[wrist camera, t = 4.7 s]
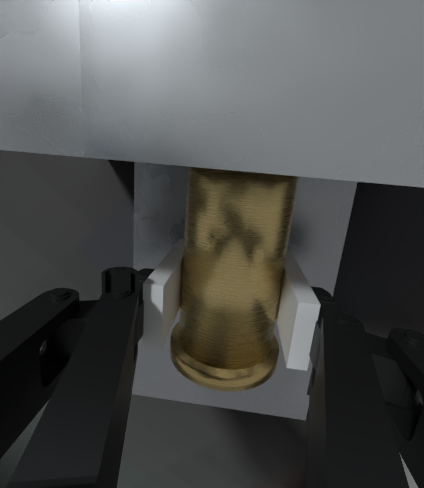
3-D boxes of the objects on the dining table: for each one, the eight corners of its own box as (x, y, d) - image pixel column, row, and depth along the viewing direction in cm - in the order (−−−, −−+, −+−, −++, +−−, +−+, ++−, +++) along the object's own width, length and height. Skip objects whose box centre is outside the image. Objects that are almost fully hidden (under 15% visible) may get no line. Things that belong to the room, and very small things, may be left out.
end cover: (181, 317, 18) (156, 381, 13) (197, 71, 14) (169, 15, 9) (271, 328, 18) (283, 400, 12) (311, 78, 14) (354, 24, 9)
